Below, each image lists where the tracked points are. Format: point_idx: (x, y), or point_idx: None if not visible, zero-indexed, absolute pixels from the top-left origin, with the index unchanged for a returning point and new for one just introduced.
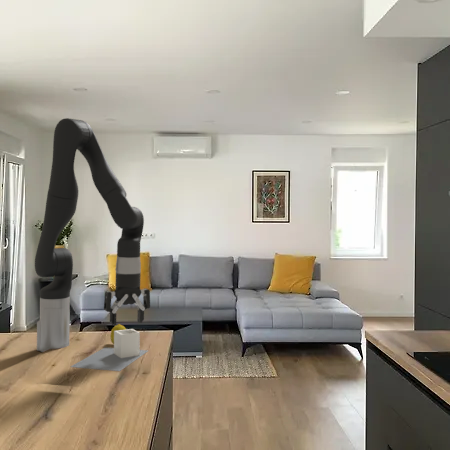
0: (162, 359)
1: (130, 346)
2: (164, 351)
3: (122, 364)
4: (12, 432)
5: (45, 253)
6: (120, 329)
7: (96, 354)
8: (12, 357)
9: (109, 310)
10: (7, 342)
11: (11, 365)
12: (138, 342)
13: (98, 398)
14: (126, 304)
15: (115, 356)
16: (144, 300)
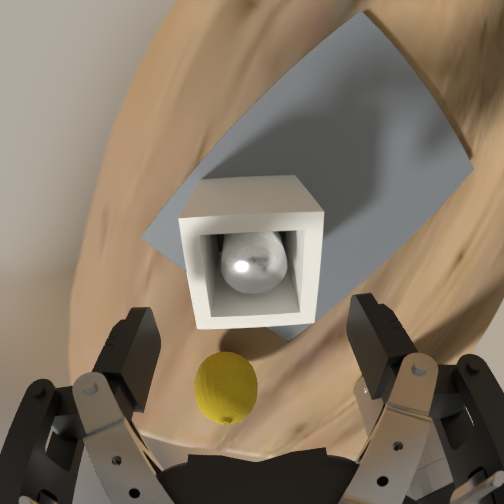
0: (111, 151)
1: (248, 189)
2: (84, 254)
3: (323, 78)
4: None
5: None
6: (225, 397)
7: (356, 271)
8: (469, 344)
9: (463, 366)
10: None
11: (500, 291)
12: (197, 196)
13: None
14: (291, 455)
15: None
16: (66, 466)
